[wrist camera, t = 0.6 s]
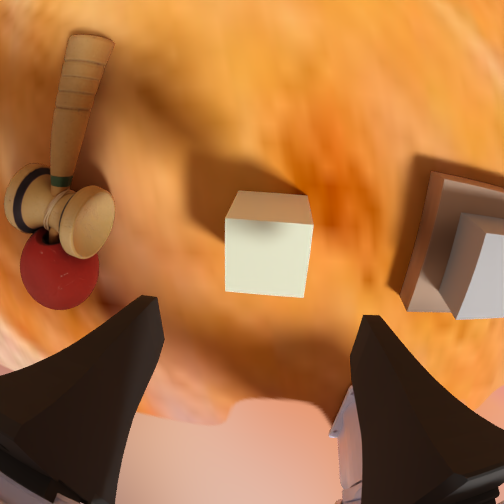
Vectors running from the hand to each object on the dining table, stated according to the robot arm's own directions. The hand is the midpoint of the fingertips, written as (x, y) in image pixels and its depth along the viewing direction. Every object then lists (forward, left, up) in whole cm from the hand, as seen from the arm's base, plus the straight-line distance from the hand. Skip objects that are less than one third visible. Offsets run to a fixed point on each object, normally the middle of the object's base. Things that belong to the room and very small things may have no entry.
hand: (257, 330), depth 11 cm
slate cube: (0, -14, -8) cm, 16 cm away
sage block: (0, 0, -10) cm, 10 cm away
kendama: (+3, +13, -10) cm, 17 cm away
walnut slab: (0, -14, -10) cm, 17 cm away
